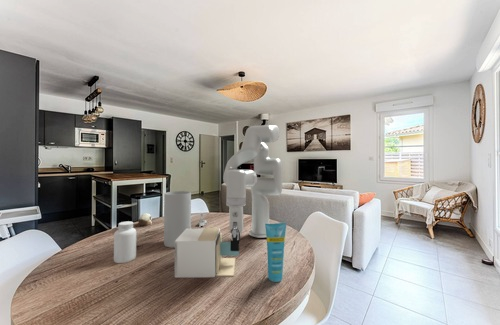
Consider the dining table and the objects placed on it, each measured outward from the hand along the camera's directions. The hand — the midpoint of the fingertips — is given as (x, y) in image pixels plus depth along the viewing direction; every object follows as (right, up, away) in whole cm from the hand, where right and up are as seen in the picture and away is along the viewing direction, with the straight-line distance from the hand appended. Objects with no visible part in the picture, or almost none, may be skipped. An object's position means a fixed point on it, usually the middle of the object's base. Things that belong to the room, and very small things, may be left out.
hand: (235, 245), depth 80 cm
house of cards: (-23, -9, +52) cm, 58 cm away
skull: (-64, -10, +51) cm, 82 cm away
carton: (-10, -8, -1) cm, 13 cm away
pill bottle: (-46, -8, +5) cm, 47 cm away
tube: (+14, -8, -9) cm, 19 cm away
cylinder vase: (-30, -8, +22) cm, 38 cm away
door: (-3, -7, +3) cm, 8 cm away
